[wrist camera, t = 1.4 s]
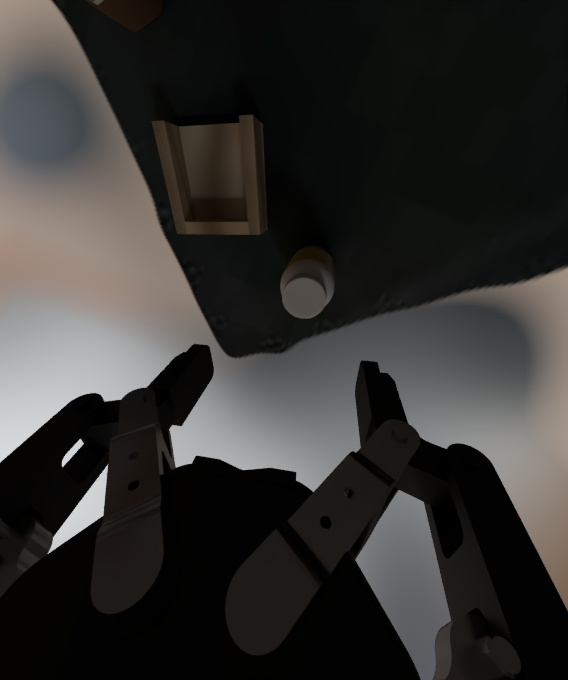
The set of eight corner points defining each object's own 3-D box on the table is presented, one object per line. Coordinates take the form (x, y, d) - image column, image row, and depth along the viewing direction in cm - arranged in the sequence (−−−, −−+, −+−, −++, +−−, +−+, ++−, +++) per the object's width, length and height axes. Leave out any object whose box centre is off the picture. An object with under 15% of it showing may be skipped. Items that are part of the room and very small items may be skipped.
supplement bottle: (281, 262, 30) (262, 290, 22) (318, 235, 28) (312, 254, 20) (305, 297, 32) (296, 334, 24) (342, 274, 30) (346, 306, 22)
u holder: (262, 123, 24) (252, 114, 21) (267, 229, 28) (260, 234, 26) (173, 129, 25) (151, 121, 22) (192, 229, 30) (177, 233, 27)
